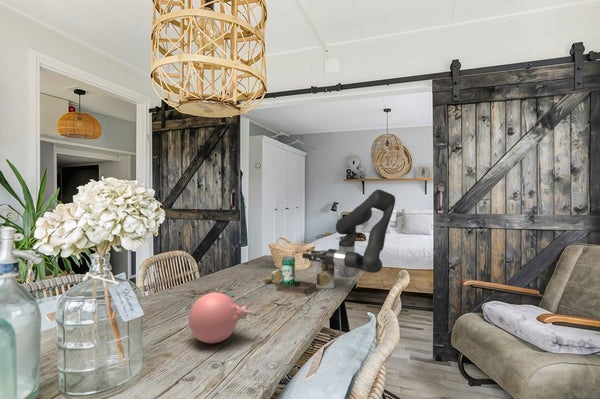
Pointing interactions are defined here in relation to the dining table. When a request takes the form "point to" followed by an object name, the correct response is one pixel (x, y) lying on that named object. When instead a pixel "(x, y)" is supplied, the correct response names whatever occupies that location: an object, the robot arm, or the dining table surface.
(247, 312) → the balloon
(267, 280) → the ceramic sculpture
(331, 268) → the coffee box
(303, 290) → the brown open tray
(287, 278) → the can
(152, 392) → the dining table surface
